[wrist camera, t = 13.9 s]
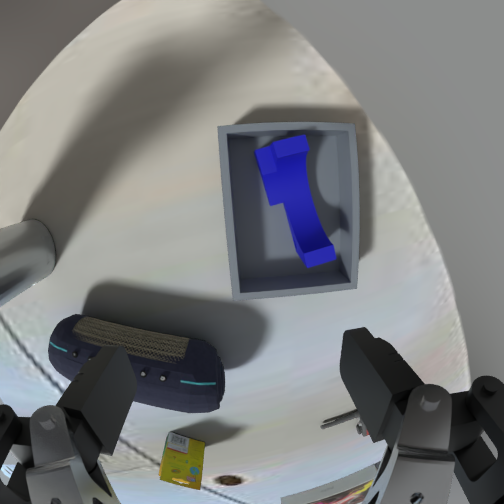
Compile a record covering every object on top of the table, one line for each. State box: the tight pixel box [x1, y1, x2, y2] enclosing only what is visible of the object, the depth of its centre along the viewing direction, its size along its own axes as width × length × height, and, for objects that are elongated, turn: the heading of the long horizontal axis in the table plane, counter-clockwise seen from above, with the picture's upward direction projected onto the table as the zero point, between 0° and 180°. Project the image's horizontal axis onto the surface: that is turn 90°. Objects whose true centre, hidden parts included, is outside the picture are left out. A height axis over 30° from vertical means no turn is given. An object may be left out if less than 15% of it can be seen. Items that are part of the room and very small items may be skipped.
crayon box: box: [159, 432, 205, 490], centre depth 36 cm, size 7×3×12 cm, turn 65°
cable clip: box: [254, 134, 336, 268], centre depth 27 cm, size 12×4×6 cm, turn 17°
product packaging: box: [281, 464, 378, 504], centre depth 51 cm, size 22×28×5 cm
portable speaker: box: [48, 314, 225, 413], centre depth 31 cm, size 25×10×10 cm, turn 82°
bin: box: [217, 122, 360, 301], centre depth 28 cm, size 14×18×5 cm
